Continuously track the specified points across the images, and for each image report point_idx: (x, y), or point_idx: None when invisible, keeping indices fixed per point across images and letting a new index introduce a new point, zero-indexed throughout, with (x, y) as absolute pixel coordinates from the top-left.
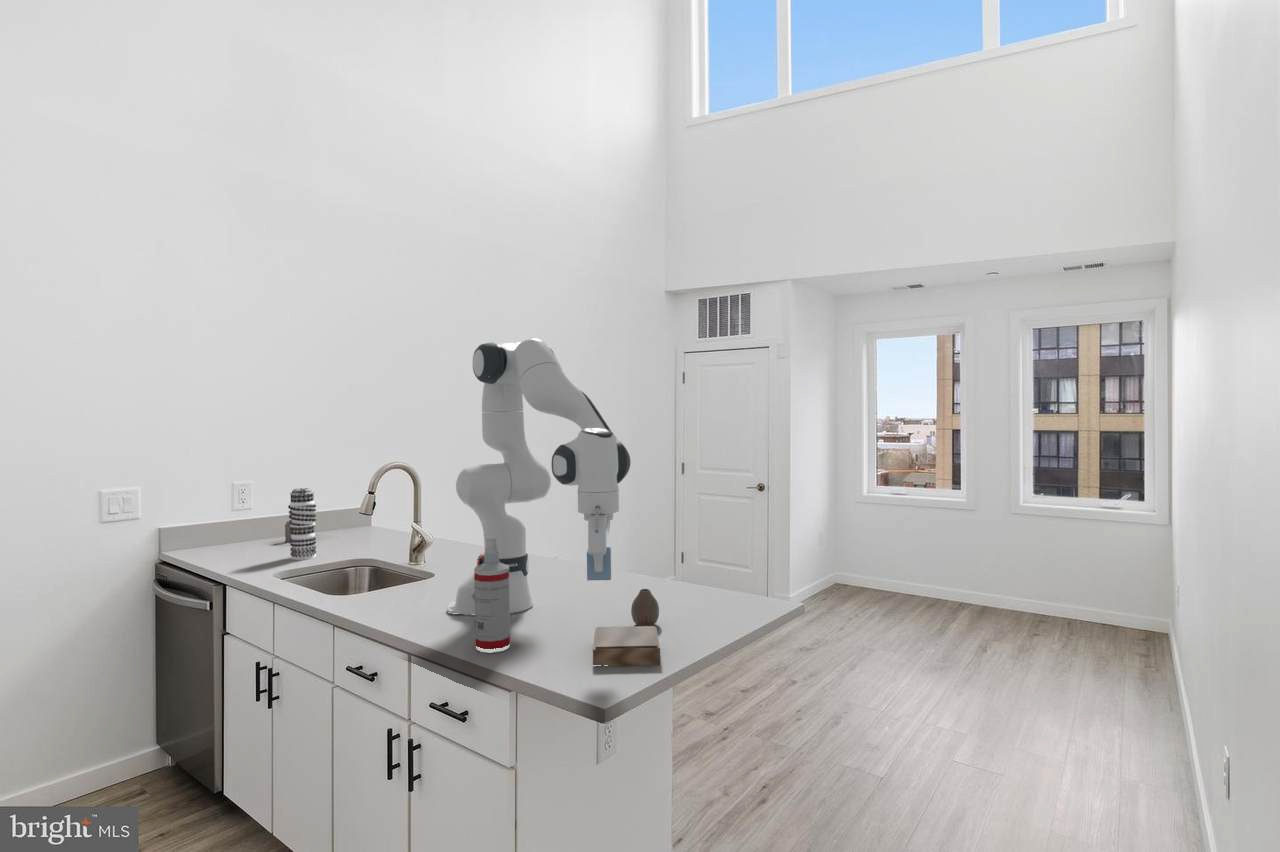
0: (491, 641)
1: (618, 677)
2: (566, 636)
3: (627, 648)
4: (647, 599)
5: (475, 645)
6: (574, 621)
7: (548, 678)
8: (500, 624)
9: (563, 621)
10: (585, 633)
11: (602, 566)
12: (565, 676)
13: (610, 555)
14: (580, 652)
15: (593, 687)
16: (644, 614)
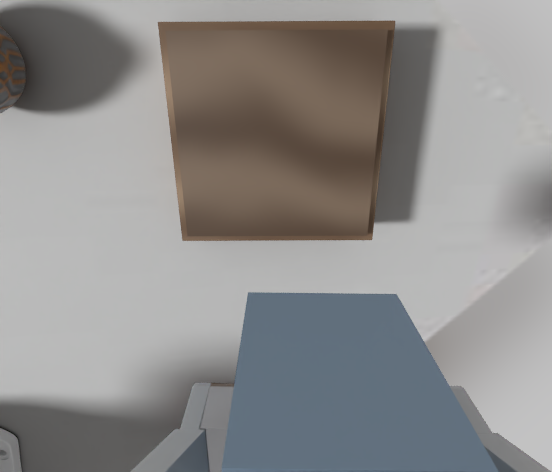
0: None
1: (443, 159)
2: (138, 295)
3: (378, 139)
4: None
5: None
6: (9, 284)
7: (414, 311)
8: None
9: (16, 310)
10: (108, 251)
11: (476, 411)
12: (410, 279)
13: (432, 425)
14: (257, 256)
15: (490, 217)
16: (6, 66)
